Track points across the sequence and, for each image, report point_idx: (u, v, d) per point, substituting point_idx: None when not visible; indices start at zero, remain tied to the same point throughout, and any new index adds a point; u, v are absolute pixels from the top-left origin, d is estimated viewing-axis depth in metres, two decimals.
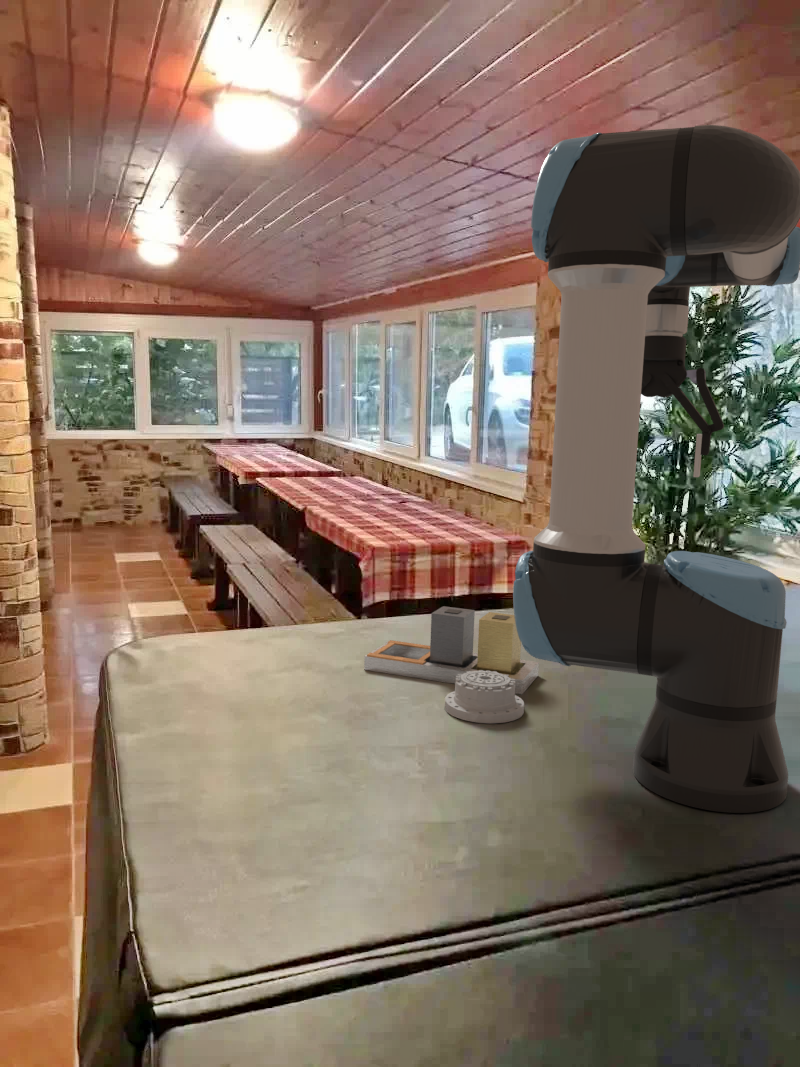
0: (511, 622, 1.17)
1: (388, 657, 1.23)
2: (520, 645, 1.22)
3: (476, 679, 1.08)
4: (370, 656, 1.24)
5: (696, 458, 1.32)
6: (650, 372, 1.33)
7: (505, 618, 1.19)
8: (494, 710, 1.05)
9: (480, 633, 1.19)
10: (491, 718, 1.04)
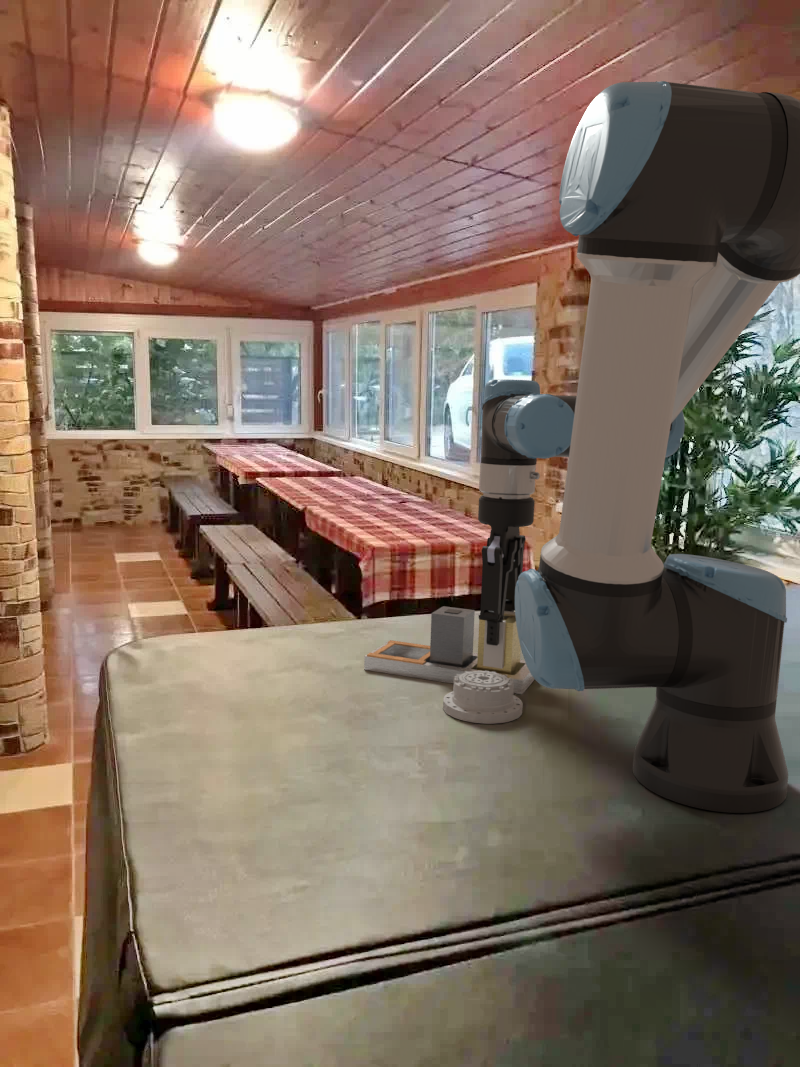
0: (511, 622, 1.17)
1: (388, 657, 1.23)
2: None
3: (474, 679, 1.08)
4: (370, 656, 1.24)
5: None
6: None
7: (505, 618, 1.19)
8: (492, 711, 1.05)
9: (480, 633, 1.19)
10: (490, 718, 1.04)
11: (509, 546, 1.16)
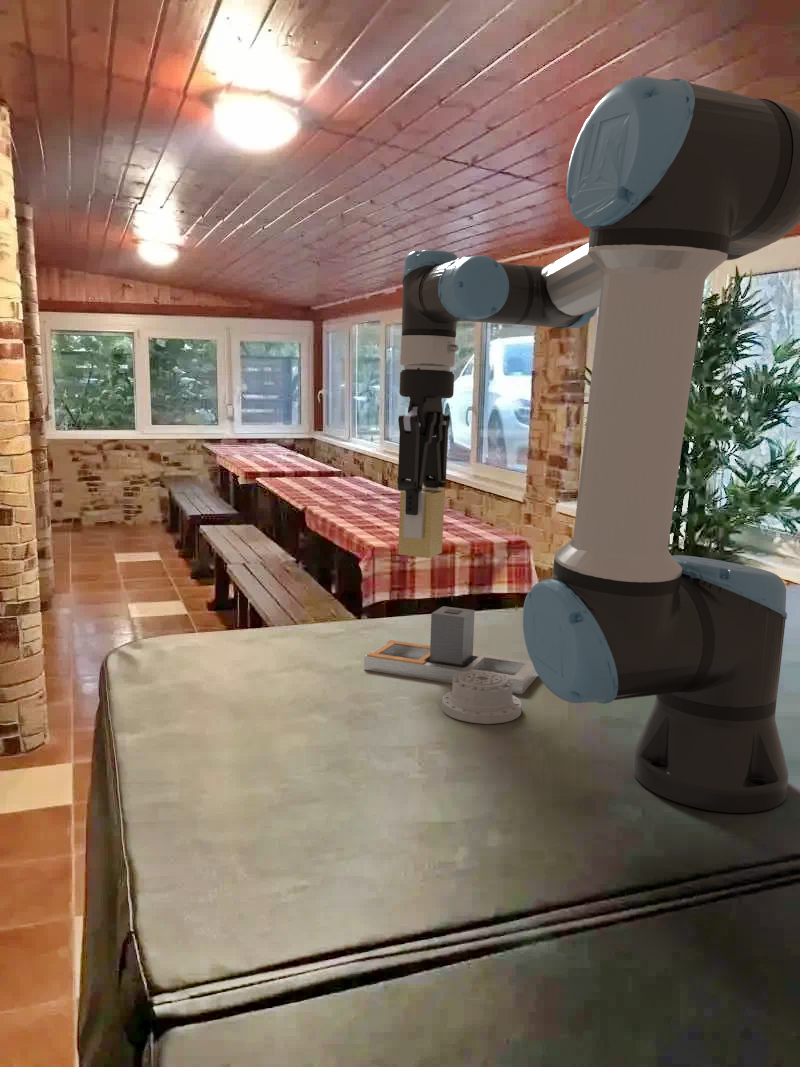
0: (431, 493, 1.20)
1: (388, 657, 1.23)
2: (442, 520, 1.24)
3: (473, 679, 1.08)
4: (370, 656, 1.24)
5: None
6: None
7: (426, 491, 1.22)
8: (491, 711, 1.05)
9: (401, 505, 1.21)
10: (488, 719, 1.04)
11: (428, 418, 1.19)
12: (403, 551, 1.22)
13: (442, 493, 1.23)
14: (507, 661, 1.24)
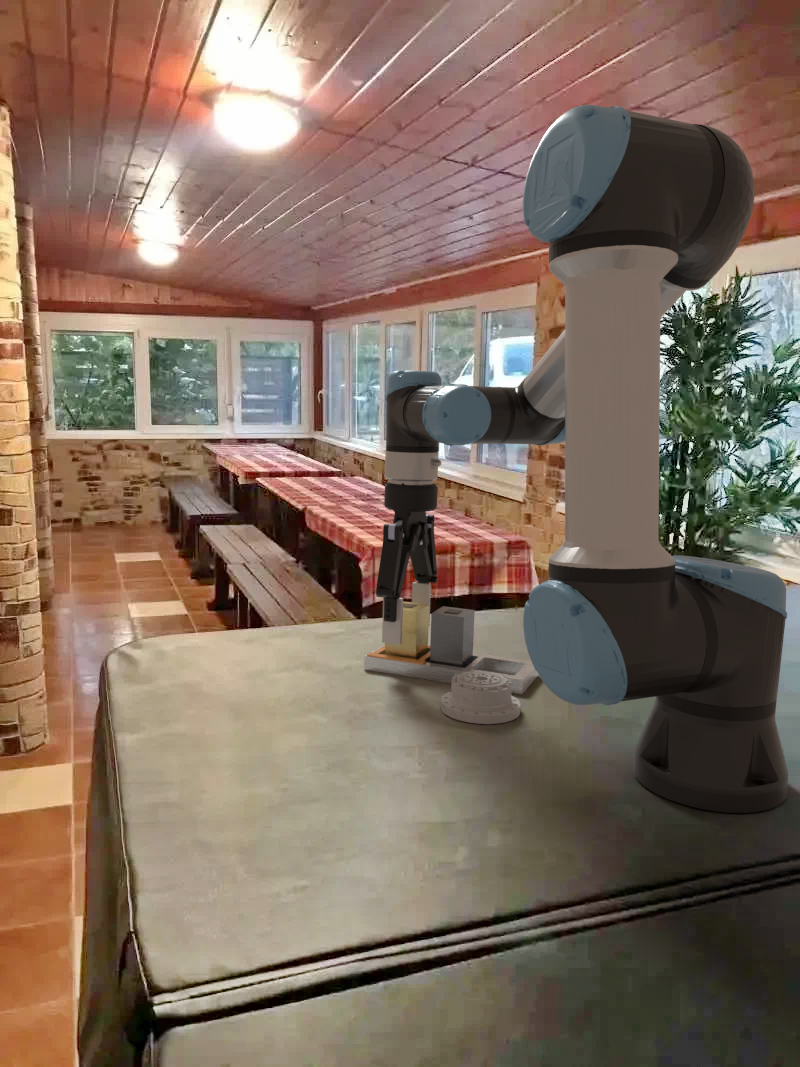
0: (416, 610, 1.23)
1: (388, 657, 1.23)
2: (427, 632, 1.27)
3: (472, 679, 1.08)
4: (370, 656, 1.24)
5: None
6: None
7: (411, 606, 1.24)
8: (490, 711, 1.05)
9: None
10: (487, 719, 1.04)
11: (413, 529, 1.21)
12: None
13: (427, 607, 1.26)
14: (507, 661, 1.24)
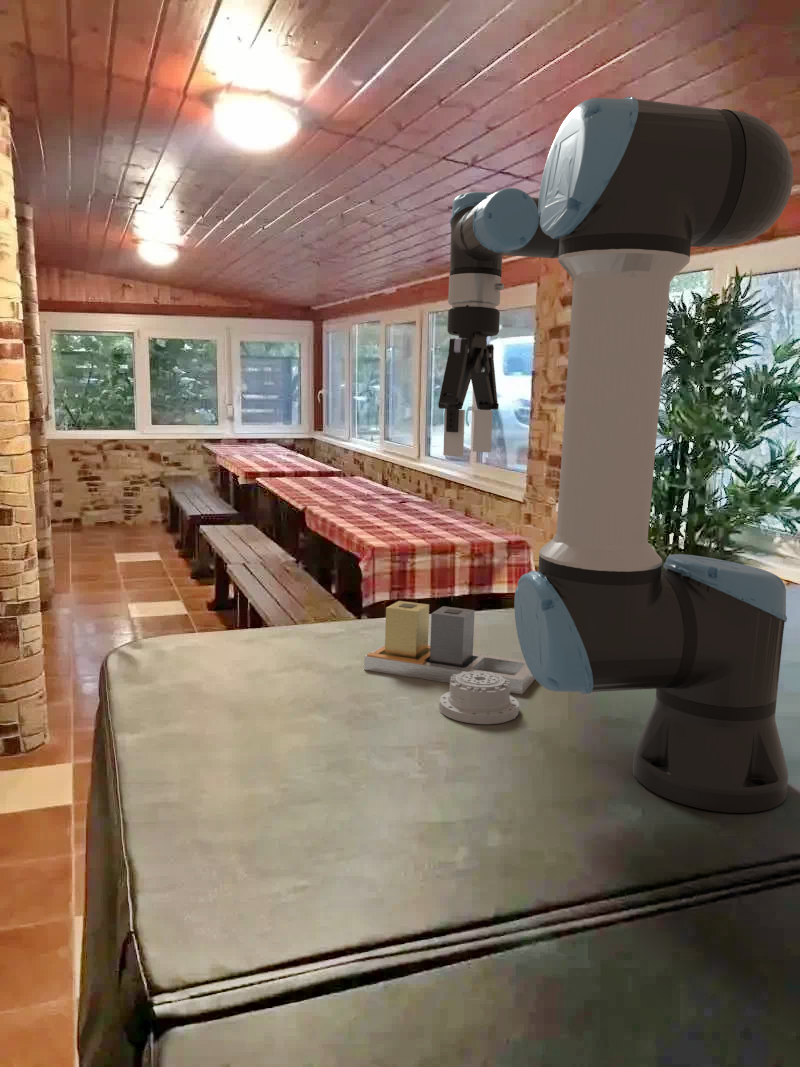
0: (416, 610, 1.23)
1: (388, 657, 1.23)
2: (427, 632, 1.27)
3: (470, 680, 1.08)
4: (370, 656, 1.24)
5: None
6: None
7: (411, 606, 1.24)
8: (488, 711, 1.05)
9: (387, 621, 1.24)
10: (485, 719, 1.04)
11: (476, 351, 1.25)
12: None
13: (427, 607, 1.26)
14: (507, 661, 1.24)
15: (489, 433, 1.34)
